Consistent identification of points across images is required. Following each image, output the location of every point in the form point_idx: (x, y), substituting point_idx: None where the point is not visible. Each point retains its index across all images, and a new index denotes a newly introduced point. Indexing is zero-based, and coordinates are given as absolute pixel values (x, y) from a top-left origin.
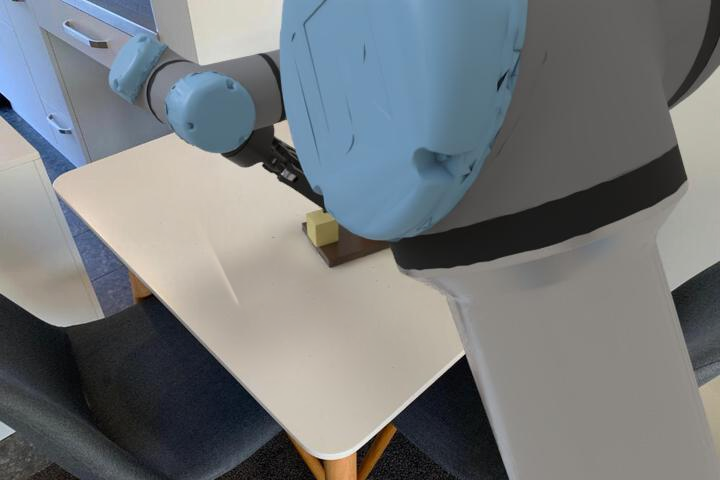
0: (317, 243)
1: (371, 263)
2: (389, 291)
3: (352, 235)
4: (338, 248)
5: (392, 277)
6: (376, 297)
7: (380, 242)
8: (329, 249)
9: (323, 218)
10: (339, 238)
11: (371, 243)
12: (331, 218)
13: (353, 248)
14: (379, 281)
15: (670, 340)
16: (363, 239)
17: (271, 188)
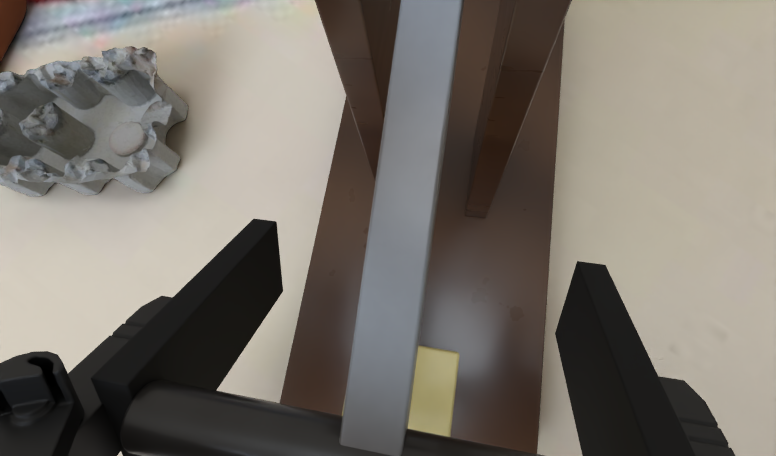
0: None
1: None
2: (744, 348)
3: (456, 292)
4: (491, 380)
5: (683, 295)
6: (752, 405)
7: (544, 234)
8: (479, 414)
9: (417, 411)
10: (443, 341)
11: (533, 263)
12: (440, 378)
13: (522, 334)
14: (681, 344)
15: None
16: (498, 273)
17: (22, 352)
